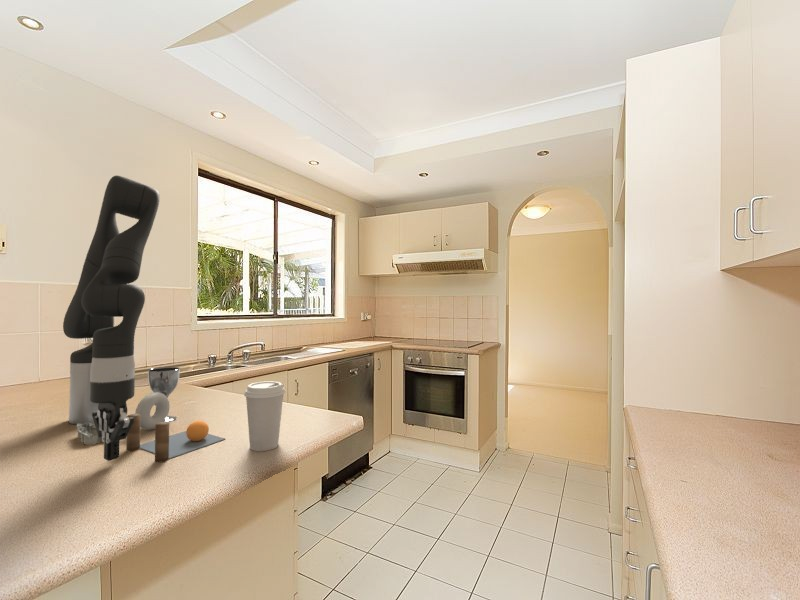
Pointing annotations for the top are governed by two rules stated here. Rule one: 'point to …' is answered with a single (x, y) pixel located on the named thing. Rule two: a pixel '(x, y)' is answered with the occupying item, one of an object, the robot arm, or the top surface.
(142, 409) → the donut
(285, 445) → the top surface
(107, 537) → the top surface
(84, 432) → the egg carton
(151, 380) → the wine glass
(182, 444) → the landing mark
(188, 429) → the ball
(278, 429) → the coffee cup
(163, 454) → the post
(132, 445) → the post
